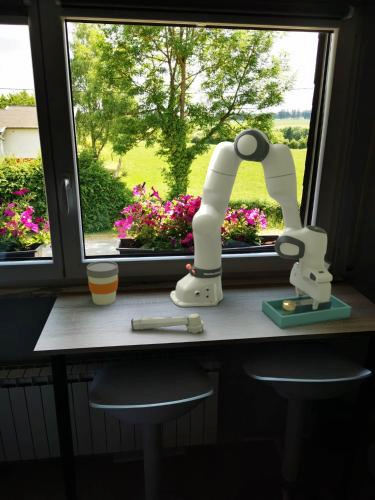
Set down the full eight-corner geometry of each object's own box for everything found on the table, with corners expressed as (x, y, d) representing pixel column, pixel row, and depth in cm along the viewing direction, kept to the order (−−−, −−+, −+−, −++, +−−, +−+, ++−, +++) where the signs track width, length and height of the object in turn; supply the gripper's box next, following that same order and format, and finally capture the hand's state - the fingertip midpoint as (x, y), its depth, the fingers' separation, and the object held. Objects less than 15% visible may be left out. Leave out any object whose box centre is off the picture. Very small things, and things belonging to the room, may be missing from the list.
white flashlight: (132, 315, 131) (202, 308, 130) (135, 331, 133) (204, 325, 132) (130, 322, 126) (202, 315, 125) (133, 339, 128) (204, 332, 127)
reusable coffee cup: (112, 291, 159) (111, 258, 155) (124, 302, 149) (123, 267, 145) (84, 297, 153) (81, 264, 148) (94, 309, 143) (92, 273, 138)
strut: (322, 306, 147) (324, 295, 145) (330, 312, 142) (332, 300, 141) (279, 313, 141) (280, 301, 139) (286, 318, 136) (287, 306, 135)
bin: (280, 329, 131) (281, 317, 130) (261, 311, 144) (262, 301, 142) (349, 317, 140) (351, 307, 138) (325, 302, 152) (327, 292, 151)
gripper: (287, 261, 144) (284, 293, 149) (320, 280, 126) (315, 316, 130) (301, 259, 146) (297, 291, 151) (336, 278, 128) (330, 314, 132)
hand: (306, 303), depth 140 cm, fingers open, 8 cm apart
